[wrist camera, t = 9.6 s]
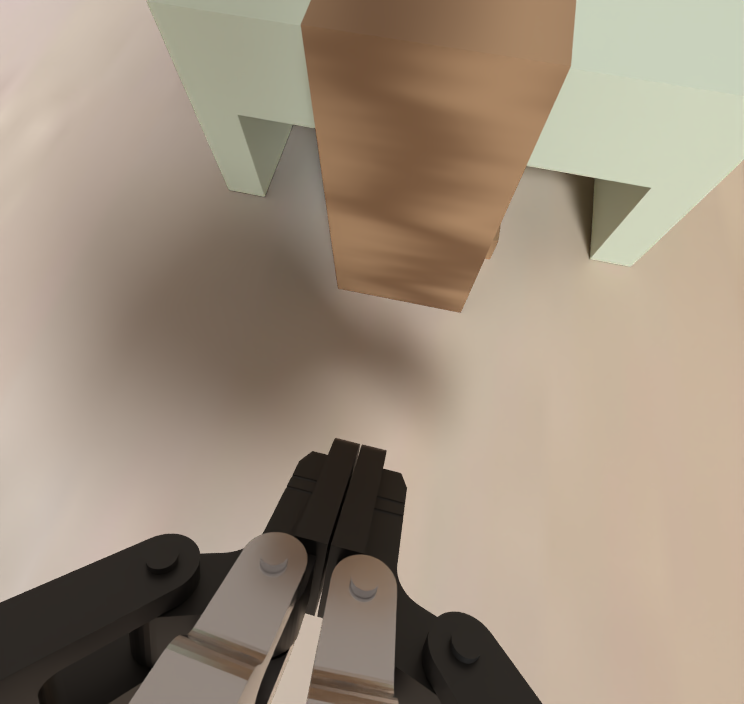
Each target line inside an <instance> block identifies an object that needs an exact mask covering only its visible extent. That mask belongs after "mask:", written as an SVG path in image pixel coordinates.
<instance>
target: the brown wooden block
mask: <svg viewBox="0 0 744 704" xmlns="http://www.w3.org/2000/svg"><path fill="white" fill-rule="evenodd" d="M575 11H576V0H311V1H310V3H309V6H308V8H307V11H306V13H305V15H304V18H303V20H302V22H301V31H302V38H303V45H304V52H305V59H306V66H307V74H308V81H309V88H310V95H311V102H312V109H313V116H314V123H315V130H316V137H317V144H318V151H319V158H320V165H321V172H322V179H323V186H324V193H325V200H326V207H327V214H328V221H329V228H330V235H331V242H332V249H333V256H334V263H335V270H336V277H337V284H338V288H339V289H344V290H349V291H354V292H359V293H364V294H369V295H374V296H379V297H384V298H389V299H394V300H399V301H404V302H409V303H414V304H419V305H424V306H429V307H435V308H440V309H445V310H450V311H455V312H460V313H461V311H462V308H463V306H464V304H465V302H466V299H467V297H468V295H469V293H470V291H471V288H472V286H473V284H474V282H475V279H476V277H477V275H478V273H479V270H480V268H481V266H482V264H483V262H484V259H490V258H491V256H492V254H493V251H494V249H495V247H496V245H497V243H498V239H499V232H500V225H501V221H502V219H503V217H504V215H505V212H506V210H507V208H508V206H509V203H510V201H511V199H512V197H513V195H514V192H515V190H516V188H517V186H518V183H519V181H520V179H521V177H522V174H523V172H524V170H525V168H526V166H527V163H528V161H529V159H530V157H531V154H532V152H533V150H534V148H535V145H536V143H537V141H538V139H539V137H540V134H541V132H542V130H543V128H544V125H545V123H546V121H547V119H548V116H549V114H550V112H551V110H552V107H553V105H554V103H555V101H556V99H557V96H558V94H559V92H560V90H561V87H562V85H563V83H564V81H565V78H566V76H567V74H568V72H569V70H570V67H571V61H572V48H573V36H574V24H575Z"/></svg>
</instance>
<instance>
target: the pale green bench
mask: <svg viewBox="0 0 744 704" xmlns="http://www.w3.org/2000/svg"><path fill="white" fill-rule="evenodd" d="M310 1H311V0H147V3H148V6H149V8H150V10H151V13H152V15H153V17H154V19H155V22H156V24H157V26H158V29H159V31H160V33H161V36H162V38H163V40H164V42H165V45H166V47H167V49H168V52H169V54H170V56H171V58H172V61H173V63H174V65H175V68H176V70H177V72H178V75H179V77H180V79H181V81H182V84H183V86H184V88H185V91H186V93H187V95H188V97H189V100H190V102H191V104H192V107H193V109H194V111H195V114H196V116H197V118H198V120H199V123H200V125H201V127H202V130H203V132H204V134H205V136H206V139H207V141H208V143H209V146H210V148H211V150H212V153H213V155H214V157H215V159H216V162H217V164H218V166H219V169H220V171H221V173H222V175H223V178H224V180H225V182H226V185H227V187H228V189H229V190H231V191H237V192H242V193H247V194H252V195H258V196H263V197H265V195H266V192H267V190H268V187H269V185H270V182H271V180H272V177H273V175H274V172H275V169H276V167H277V164H278V162H279V159H280V157H281V154H282V152H283V149H284V147H285V144H286V142H287V139H288V136H289V134H290V131H291V129H292V126H293V125H299V126H305V127H310V128H315V123H314V116H313V109H312V102H311V95H310V88H309V81H308V74H307V66H306V59H305V52H304V45H303V38H302V31H301V22H302V20H303V18H304V15H305V13H306V11H307V8H308V6H309V3H310ZM743 160H744V0H576V11H575V24H574V36H573V48H572V61H571V67H570V70H569V72H568V74H567V76H566V78H565V81H564V83H563V85H562V87H561V90H560V92H559V94H558V96H557V99H556V101H555V103H554V105H553V107H552V110H551V112H550V114H549V116H548V119H547V121H546V123H545V125H544V128H543V130H542V132H541V134H540V137H539V139H538V141H537V143H536V145H535V148H534V150H533V152H532V154H531V157H530V159H529V161H528V163H527V166H531V167H536V168H542V169H548V170H553V171H559V172H565V173H570V174H576V175H581V176H587V177H593V178H595V180H594V198H593V215H592V233H591V251H590V259H592V260H598V261H603V262H608V263H613V264H619V265H624V266H629V267H631V266H632V265H633V264H634V263H635V262H637V261H638V260H639V259H640V258H641V257H642V256H643V255H644V254H645V253H646V252H647V251H648V250H649V249H650V248H651V247H652V246H653V245H654V244H655V243H657V242H658V241H659V240H660V239H661V238H662V237H663V236H664V235H665V234H666V233H667V232H668V231H669V230H670V229H671V228H672V227H673V226H674V225H675V224H677V223H678V222H679V221H680V220H681V219H682V218H683V217H684V216H685V215H686V214H687V213H688V212H689V211H690V210H691V209H692V208H693V207H694V206H696V205H697V204H698V203H699V202H700V201H701V200H702V199H703V198H704V197H705V196H706V195H707V194H708V193H709V192H710V191H711V190H712V189H713V188H714V187H716V186H717V185H718V184H719V183H720V182H721V181H722V180H723V179H724V178H725V177H726V176H727V175H728V174H729V173H730V172H731V171H732V170H733V169H735V168H736V167H737V166H738V165H739V164H740V163H741V162H742V161H743Z"/></svg>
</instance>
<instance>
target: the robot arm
mask: <svg viewBox="0 0 744 704" xmlns="http://www.w3.org/2000/svg"><path fill="white" fill-rule="evenodd" d="M359 448H360V444H358V443H354V442H350V441H346V440H342V439H338V438H335V439H334V442H333V444H332V446H331V449H330V451H329V454H328V455H326V454H322V453H318V452H314V451H312V452H311V453H309V454H308V455H307V456H305V457H304V458H303V459H301V460H300V461H299V463H298V465H297V467H296V469H295V471H294V473H293V476H292V477H291V479H290V481H289V483H288V485H287V488H286V489H285V491H284V493H283V495H282V497H281V499H280V501H279V503H278V505H277V507H276V509H275V511H274V513H273V515H272V517H271V519H270V521H269V523H268V525H267V527H266V529H265V530H264V532H263V534H262V535H260V536H258V537H256V538H254V539H253V540H251V541H250V542H249V543H248V544H247V545H246V547H245V548H244V549H241V550H238V551H234V552H228V553H206V554H200V551H199V548H198V546H197V545H196V543H195V542H194V541H193V540H191V539H190V538H188V537H186V536H183V535H179V534H163V535H159V536H155V537H153V538H150V539H148V540H145V541H143V542H141V543H138V544H136V545H134V546H131V547H129V548H127V549H124V550H122V551H120V552H117V553H115V554H113V555H110V556H108V557H106V558H103V559H101V560H99V561H96V562H94V563H92V564H89V565H87V566H85V567H82V568H80V569H78V570H75V571H73V572H71V573H68V574H66V575H64V576H61V577H59V578H57V579H54V580H52V581H50V582H47V583H45V584H43V585H40V586H38V587H36V588H33V589H31V590H29V591H26V592H24V593H22V594H19V595H17V596H15V597H12V598H10V599H8V600H5V601H3V602H1V603H0V704H271V702H272V700H273V697H274V695H275V692H276V690H277V687H278V685H279V682H280V680H281V677H282V675H283V672H284V670H285V667H286V665H287V662H288V660H289V657H290V655H291V652H292V649H293V646H294V642H295V640H296V638H297V636H298V633H299V630H300V627H301V624H302V621H303V618H304V614H305V613H306V614H310V615H313V616H315V612H316V609H317V606H318V602H319V599H320V596H321V600H320V605H319V610H318V616H317V617H321V618H323V621H322V626H321V631H320V636H319V641H318V646H317V651H316V656H315V661H314V666H313V671H312V676H311V681H310V686H309V692H308V697H307V702H306V704H542V703H541V701H540V700H539V698H538V697H537V696H536V694H535V693H534V692H533V690H532V689H531V687H530V686H529V685H528V683H527V682H526V681H525V679H524V678H523V676H522V675H521V674H520V672H519V671H518V670H517V668H516V667H515V665H514V664H513V663H512V661H511V660H510V659H509V657H508V656H507V654H506V653H505V652H504V650H503V649H502V647H501V646H500V645H499V643H498V642H497V641H496V639H495V638H494V636H493V635H492V634H491V632H490V631H489V630H488V629H487V628H486V627H485V626H484V625H483V624H482V623H481V622H480V621H478V620H477V619H475V618H474V617H472V616H470V615H467V614H465V613H461V612H447V613H444V614H442V615H440V616H438V617H436V616H435V615H433V614H432V613H430V612H428V611H427V610H425V609H424V608H422V607H421V606H419V605H418V604H416V603H415V602H414V601H413V600H412V599H411V598H410V597H409V596H408V595H407V594H406V593H405V591H404V589H403V588H402V586H401V584H400V582H399V579H398V574H397V563H398V555H399V547H400V539H401V531H402V523H403V515H404V507H405V506H404V505H405V499H406V491H407V487H406V484H405V482H404V479H403V477H402V474H401V473H398V472H394V471H390V470H386V469H383V466H384V461H385V456H386V452H387V450H382V449H378V448H374V447H370V446H366V445H362V446H361V449H360V452H359ZM358 453H359V456H358ZM357 458H358V459H357ZM321 592H322V595H321Z"/></svg>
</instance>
